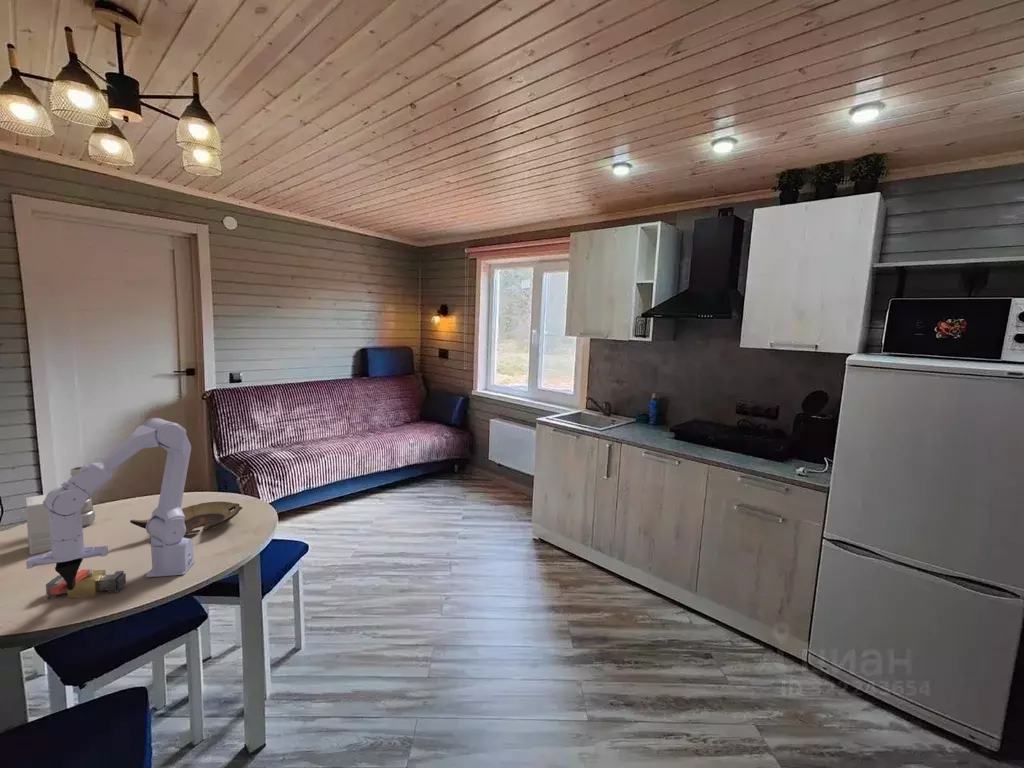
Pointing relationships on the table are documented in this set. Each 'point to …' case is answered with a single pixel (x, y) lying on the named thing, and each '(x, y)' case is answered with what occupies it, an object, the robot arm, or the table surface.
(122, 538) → the table surface
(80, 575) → the lever
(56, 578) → the pipe valve
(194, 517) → the olive brown leaf dish
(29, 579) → the table surface
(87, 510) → the plastic bottle
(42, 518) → the skincare box
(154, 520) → the robot arm
